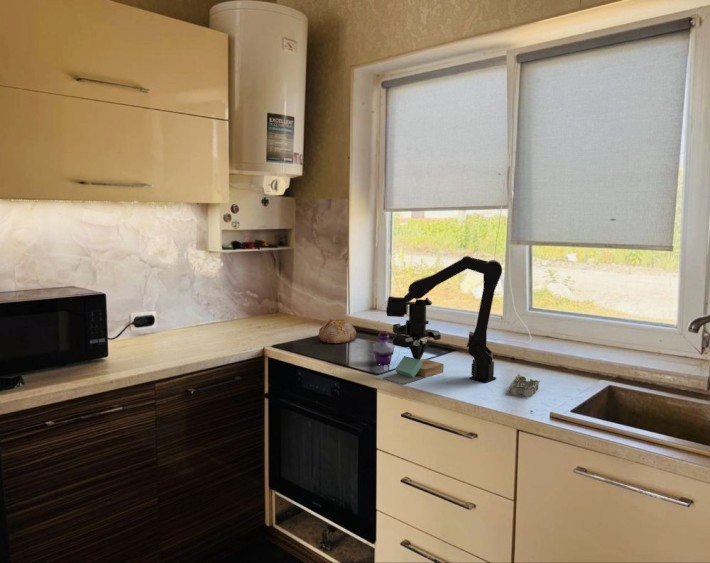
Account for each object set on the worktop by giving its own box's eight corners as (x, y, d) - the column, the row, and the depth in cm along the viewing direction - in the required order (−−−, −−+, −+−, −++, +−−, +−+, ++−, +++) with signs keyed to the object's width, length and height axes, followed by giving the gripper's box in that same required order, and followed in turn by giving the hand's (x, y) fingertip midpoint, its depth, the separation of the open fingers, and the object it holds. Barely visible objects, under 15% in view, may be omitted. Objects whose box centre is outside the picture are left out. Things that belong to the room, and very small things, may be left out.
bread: (314, 346, 231) (312, 323, 230) (324, 336, 251) (323, 315, 250) (352, 346, 229) (351, 322, 227) (360, 335, 248) (358, 313, 247)
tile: (422, 364, 184) (419, 359, 183) (413, 378, 182) (410, 373, 180) (407, 360, 189) (404, 355, 188) (397, 373, 187) (394, 369, 185)
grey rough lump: (518, 385, 176) (518, 373, 176) (541, 389, 172) (542, 376, 172) (506, 394, 168) (507, 381, 167) (531, 398, 163) (531, 385, 163)
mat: (423, 378, 182) (423, 377, 182) (403, 384, 176) (403, 383, 176) (402, 372, 189) (402, 371, 189) (382, 378, 182) (382, 377, 182)
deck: (443, 372, 190) (443, 363, 190) (424, 378, 183) (425, 369, 183) (423, 366, 196) (423, 358, 196) (404, 372, 190) (404, 363, 189)
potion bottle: (398, 362, 203) (398, 330, 202) (390, 367, 195) (390, 334, 194) (377, 359, 207) (377, 328, 205) (367, 365, 199) (368, 332, 198)
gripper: (417, 311, 197) (416, 353, 199) (381, 317, 184) (380, 363, 186) (442, 315, 189) (441, 359, 191) (405, 322, 176) (405, 369, 178)
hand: (416, 362), depth 187 cm, fingers closed
